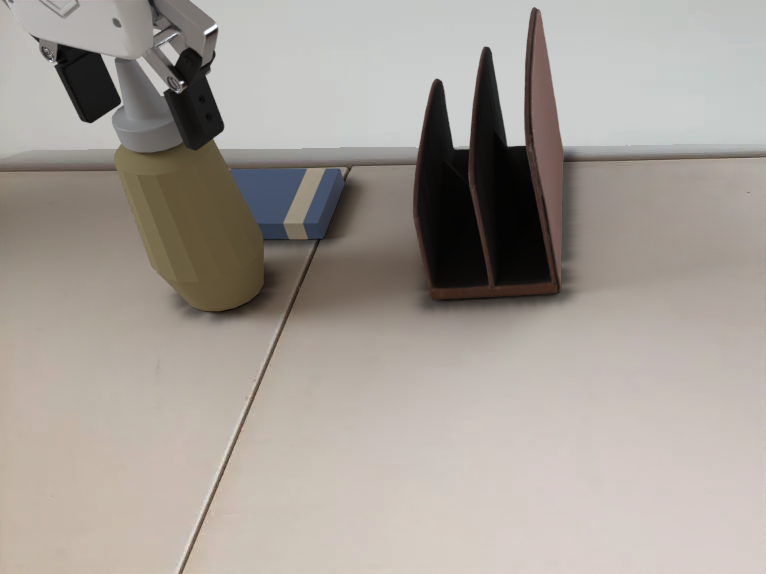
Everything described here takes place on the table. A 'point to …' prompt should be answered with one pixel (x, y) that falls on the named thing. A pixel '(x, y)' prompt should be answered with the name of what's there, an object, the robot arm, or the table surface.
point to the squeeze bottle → (184, 202)
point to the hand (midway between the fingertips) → (153, 125)
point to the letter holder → (492, 189)
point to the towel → (291, 200)
